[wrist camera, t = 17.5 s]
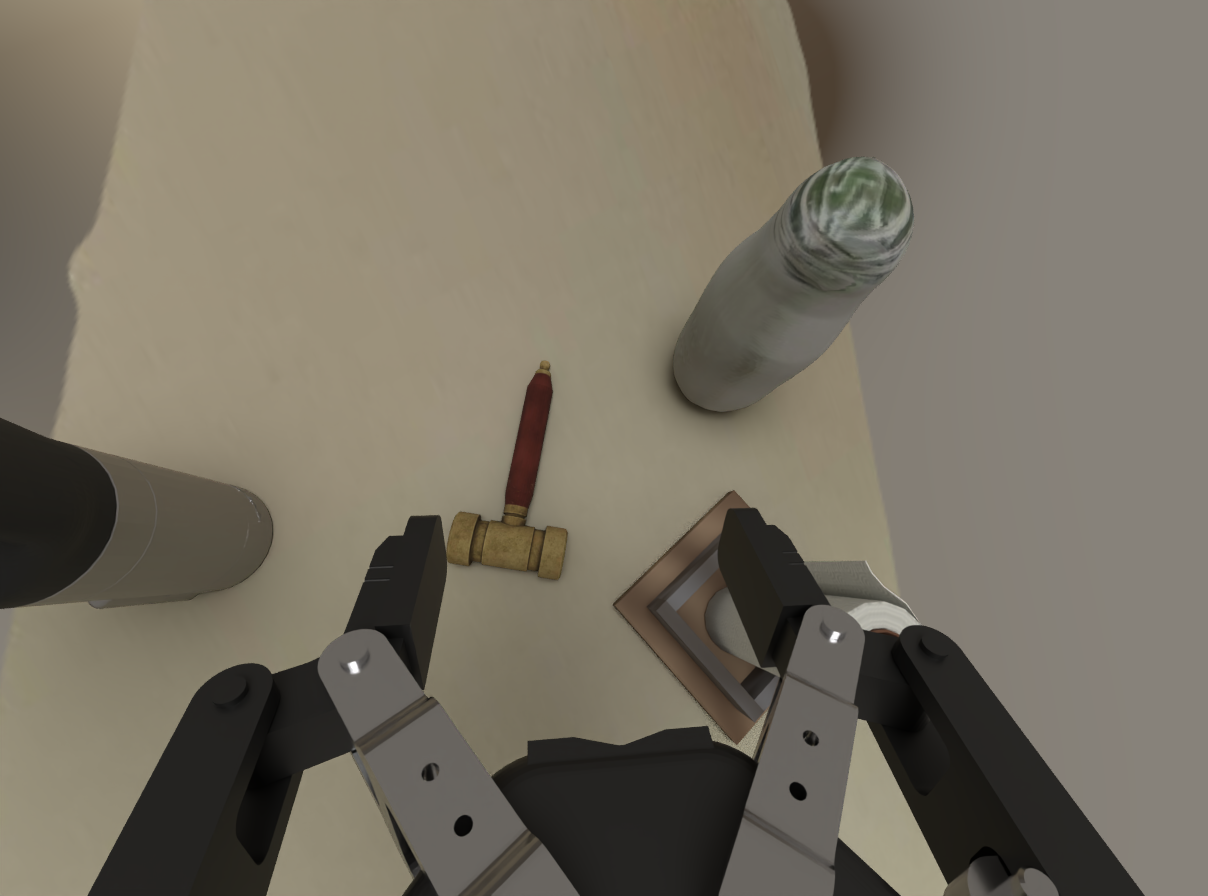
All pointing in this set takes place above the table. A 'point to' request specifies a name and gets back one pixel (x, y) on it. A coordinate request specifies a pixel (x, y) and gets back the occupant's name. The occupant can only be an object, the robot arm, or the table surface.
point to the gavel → (515, 503)
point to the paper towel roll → (843, 589)
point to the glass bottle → (794, 284)
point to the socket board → (698, 626)
